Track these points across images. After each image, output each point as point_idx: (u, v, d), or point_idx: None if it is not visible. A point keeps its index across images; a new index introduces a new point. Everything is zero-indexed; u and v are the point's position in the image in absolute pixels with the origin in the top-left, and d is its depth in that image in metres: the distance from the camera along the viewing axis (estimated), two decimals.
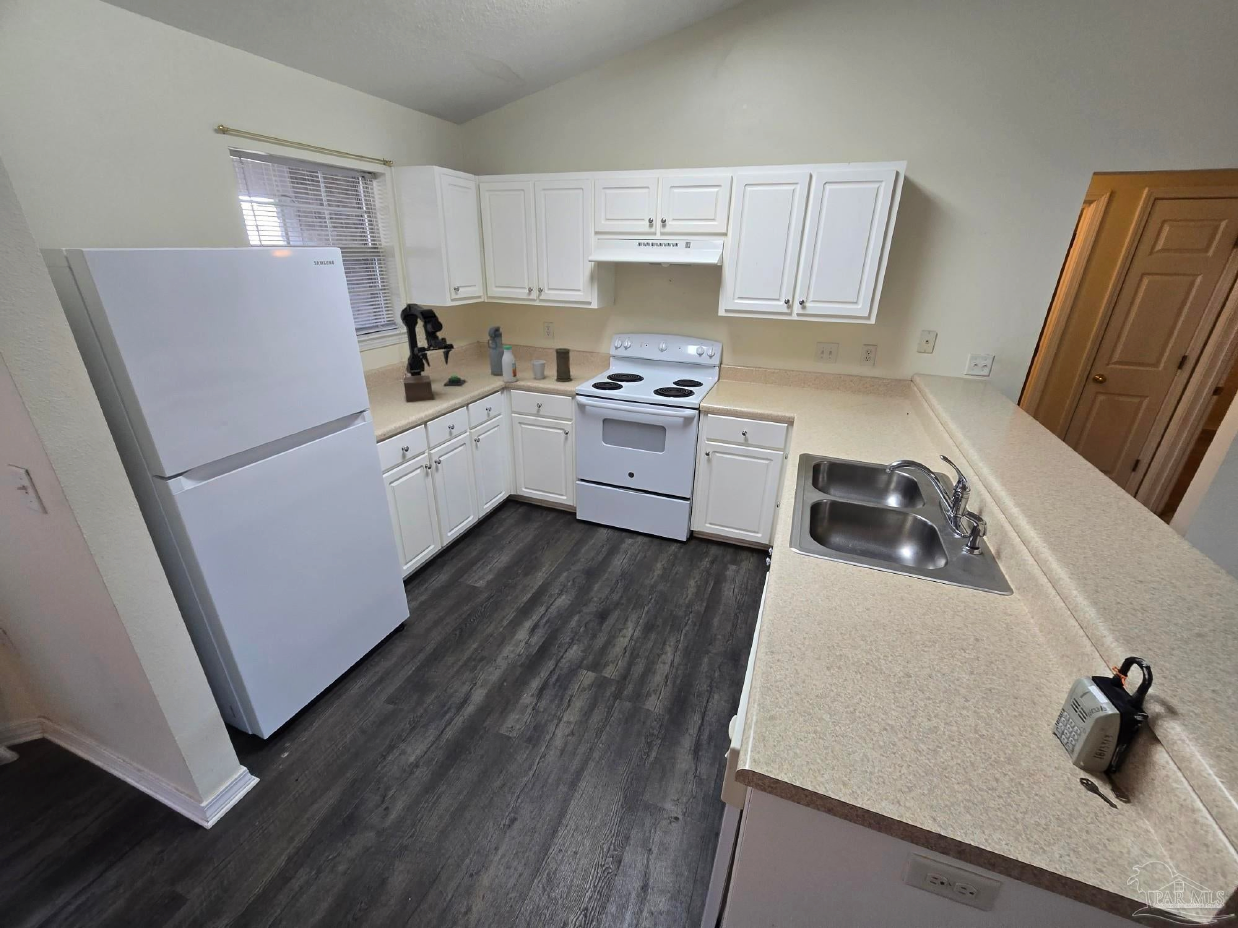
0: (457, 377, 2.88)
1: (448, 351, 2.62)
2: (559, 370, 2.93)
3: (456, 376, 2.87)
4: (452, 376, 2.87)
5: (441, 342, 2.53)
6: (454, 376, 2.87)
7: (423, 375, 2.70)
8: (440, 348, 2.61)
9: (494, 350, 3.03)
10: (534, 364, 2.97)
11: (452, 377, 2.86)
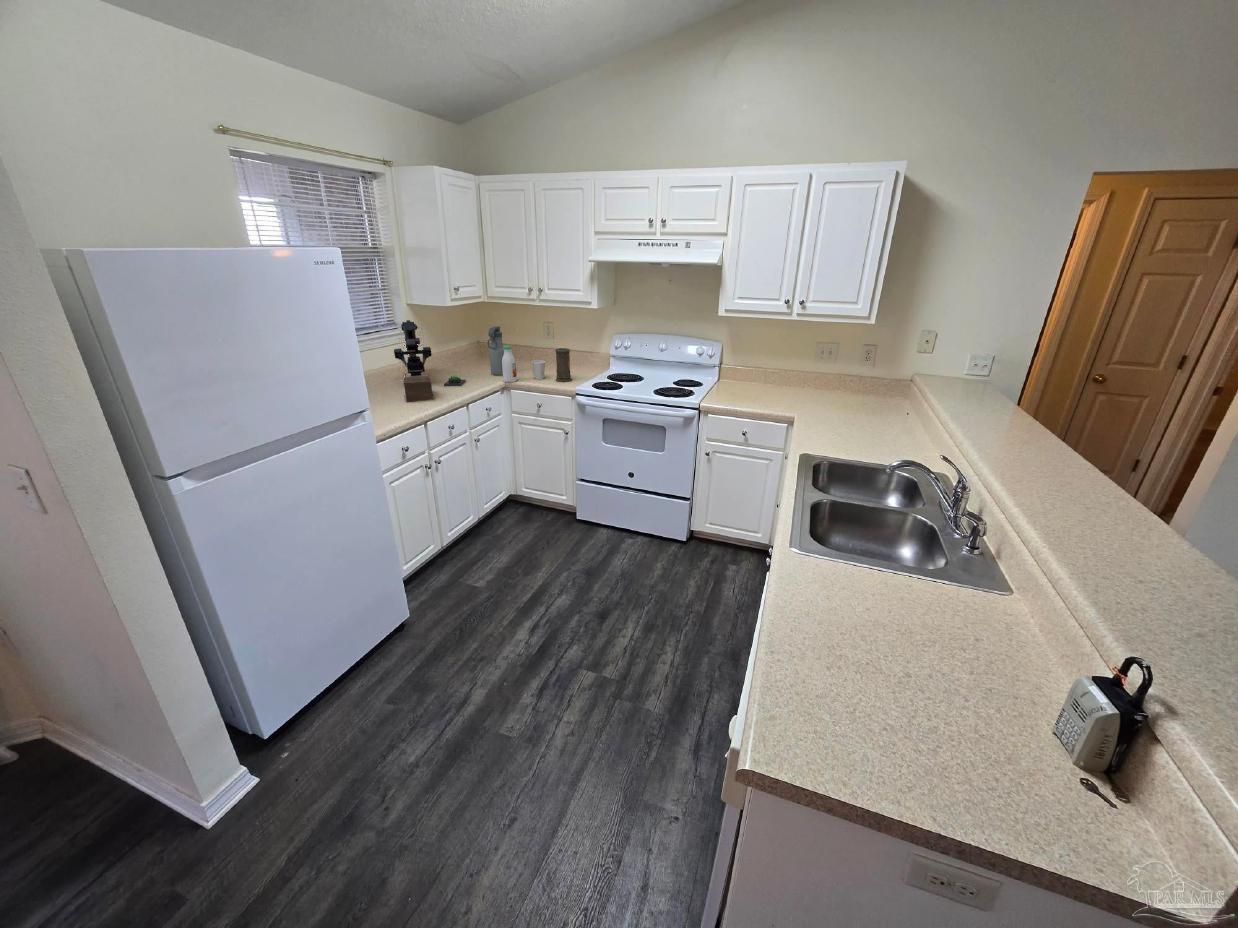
0: (457, 377, 2.88)
1: (424, 352, 2.76)
2: (559, 370, 2.93)
3: (456, 376, 2.87)
4: (452, 376, 2.87)
5: (413, 340, 2.71)
6: (454, 376, 2.87)
7: (423, 375, 2.70)
8: (418, 352, 2.78)
9: (494, 350, 3.03)
10: (534, 364, 2.97)
11: (452, 377, 2.86)
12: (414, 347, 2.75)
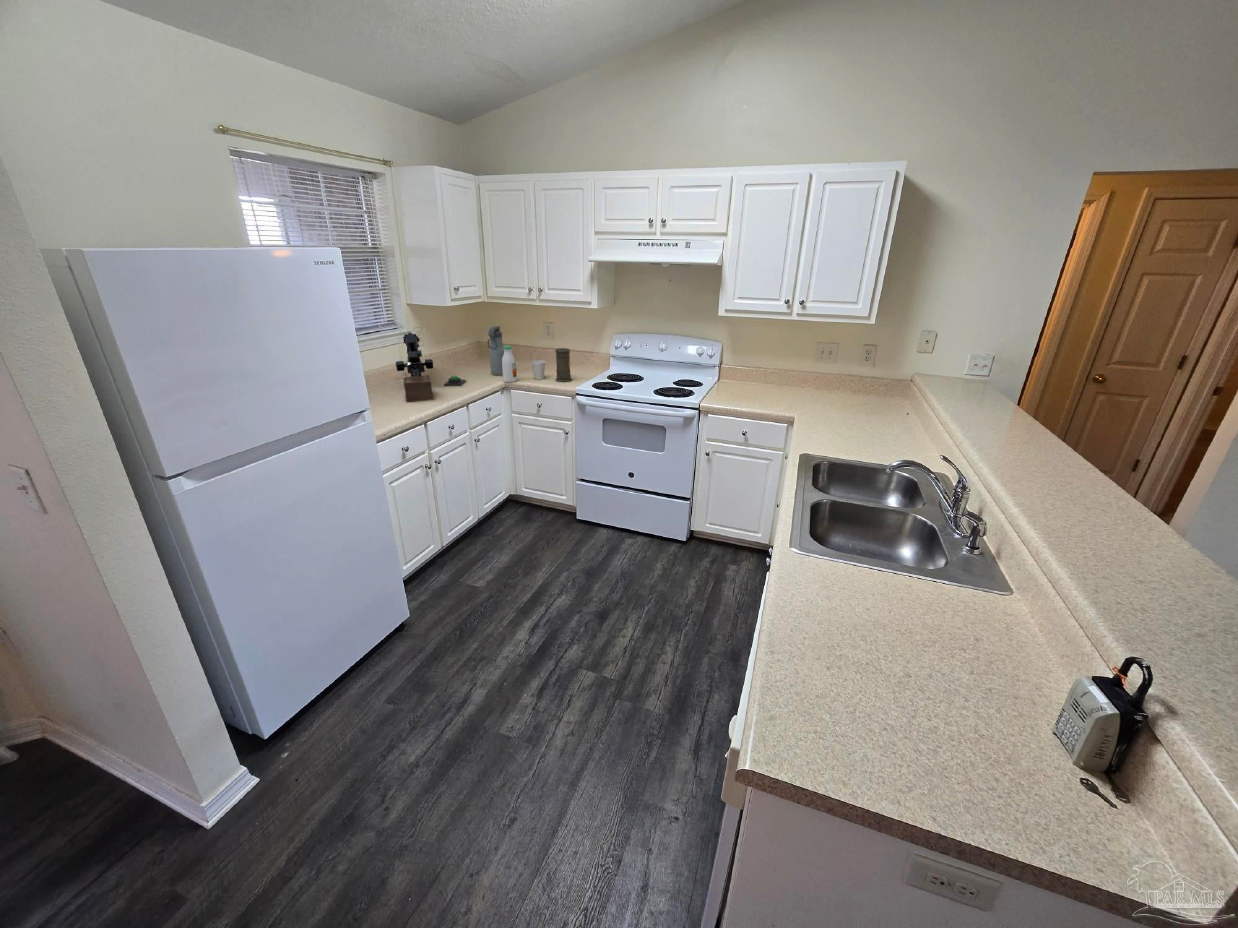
0: (457, 377, 2.88)
1: (418, 365, 2.74)
2: (559, 370, 2.93)
3: (456, 376, 2.87)
4: (452, 376, 2.87)
5: (415, 352, 2.70)
6: (454, 376, 2.87)
7: None
8: (420, 364, 2.77)
9: (494, 350, 3.03)
10: (534, 364, 2.97)
11: (452, 377, 2.86)
12: (416, 359, 2.74)
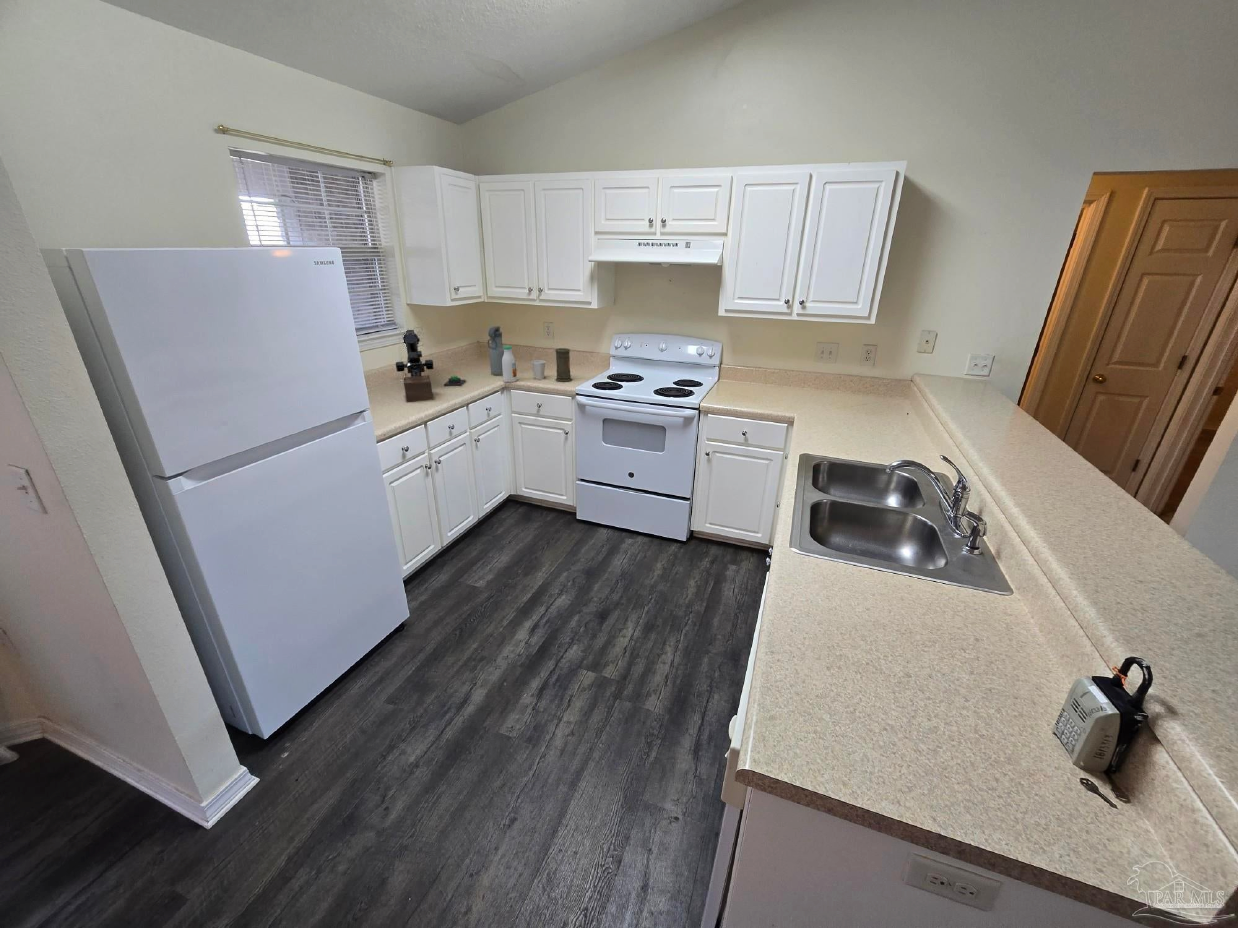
0: (457, 377, 2.88)
1: (418, 366, 2.72)
2: (559, 370, 2.93)
3: (456, 376, 2.87)
4: (452, 376, 2.87)
5: (415, 353, 2.68)
6: (454, 376, 2.87)
7: None
8: None
9: (494, 350, 3.03)
10: (534, 364, 2.97)
11: (452, 377, 2.86)
12: (416, 360, 2.73)
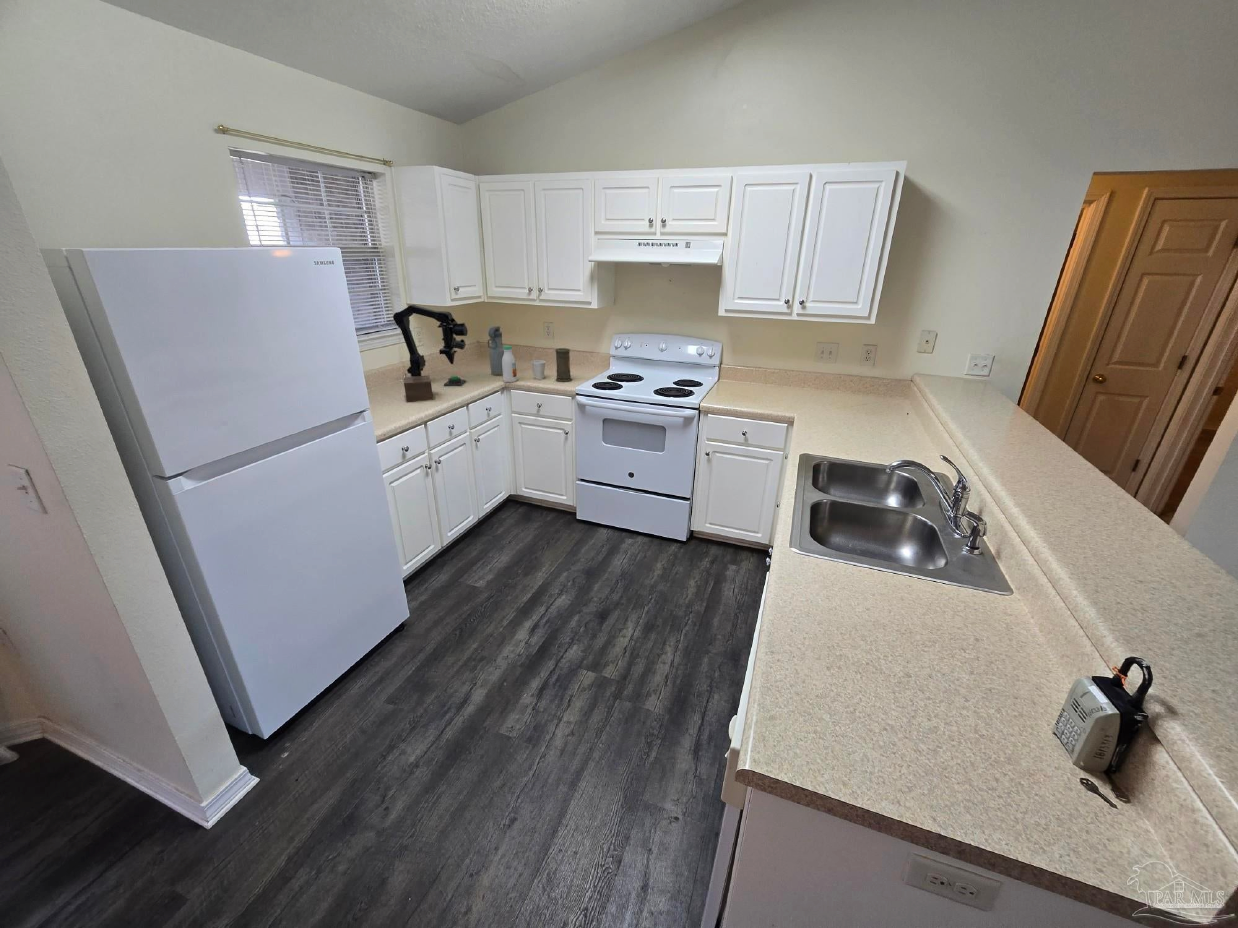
0: (457, 377, 2.88)
1: (455, 352, 2.84)
2: (559, 370, 2.93)
3: (456, 376, 2.87)
4: (452, 376, 2.87)
5: (465, 344, 2.82)
6: (454, 376, 2.87)
7: None
8: None
9: (494, 350, 3.03)
10: (534, 364, 2.97)
11: (452, 377, 2.86)
12: None
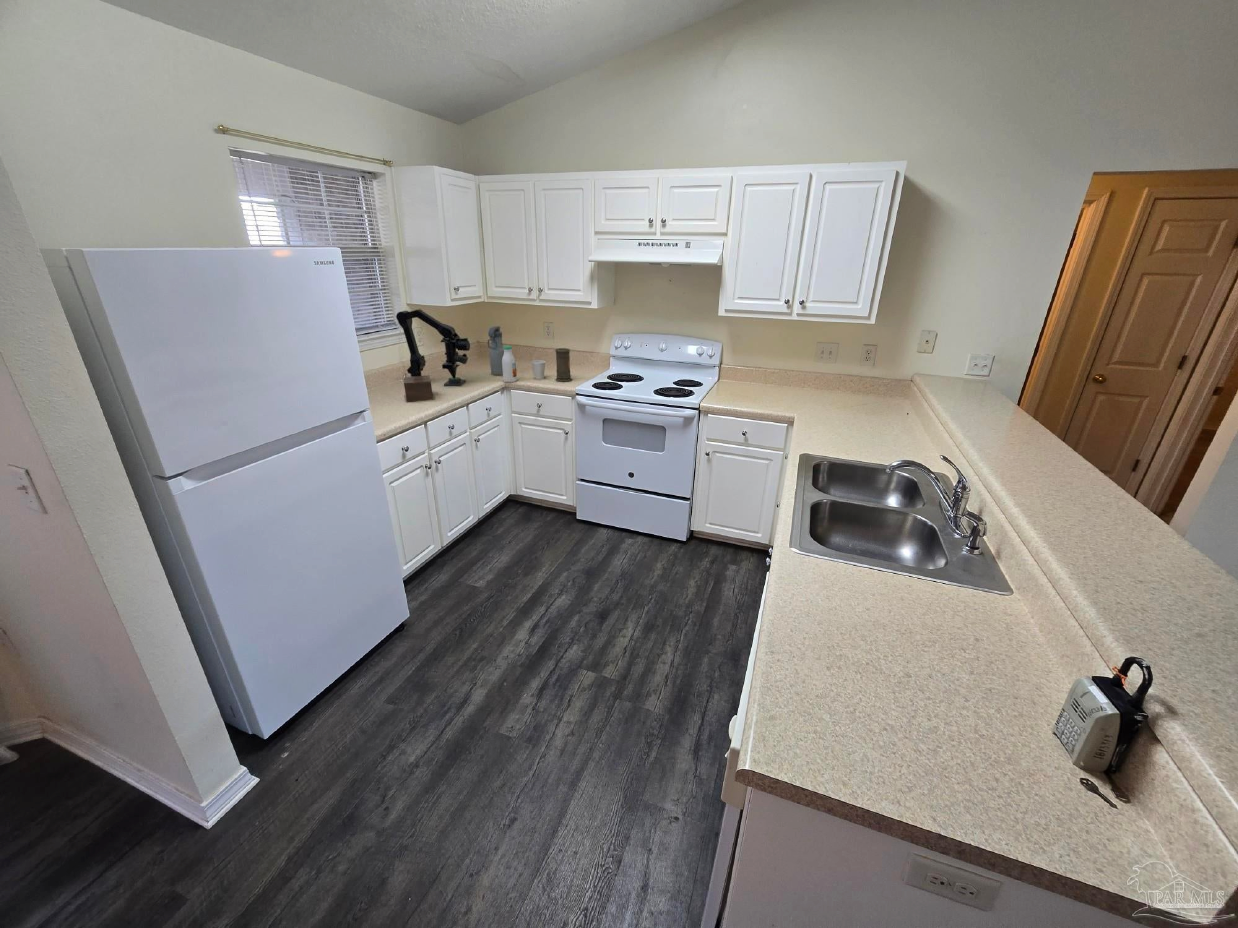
0: None
1: None
2: (559, 370, 2.93)
3: (456, 378, 2.88)
4: (452, 378, 2.88)
5: (467, 358, 2.85)
6: (454, 378, 2.88)
7: None
8: None
9: (494, 350, 3.03)
10: (534, 364, 2.97)
11: None
12: None
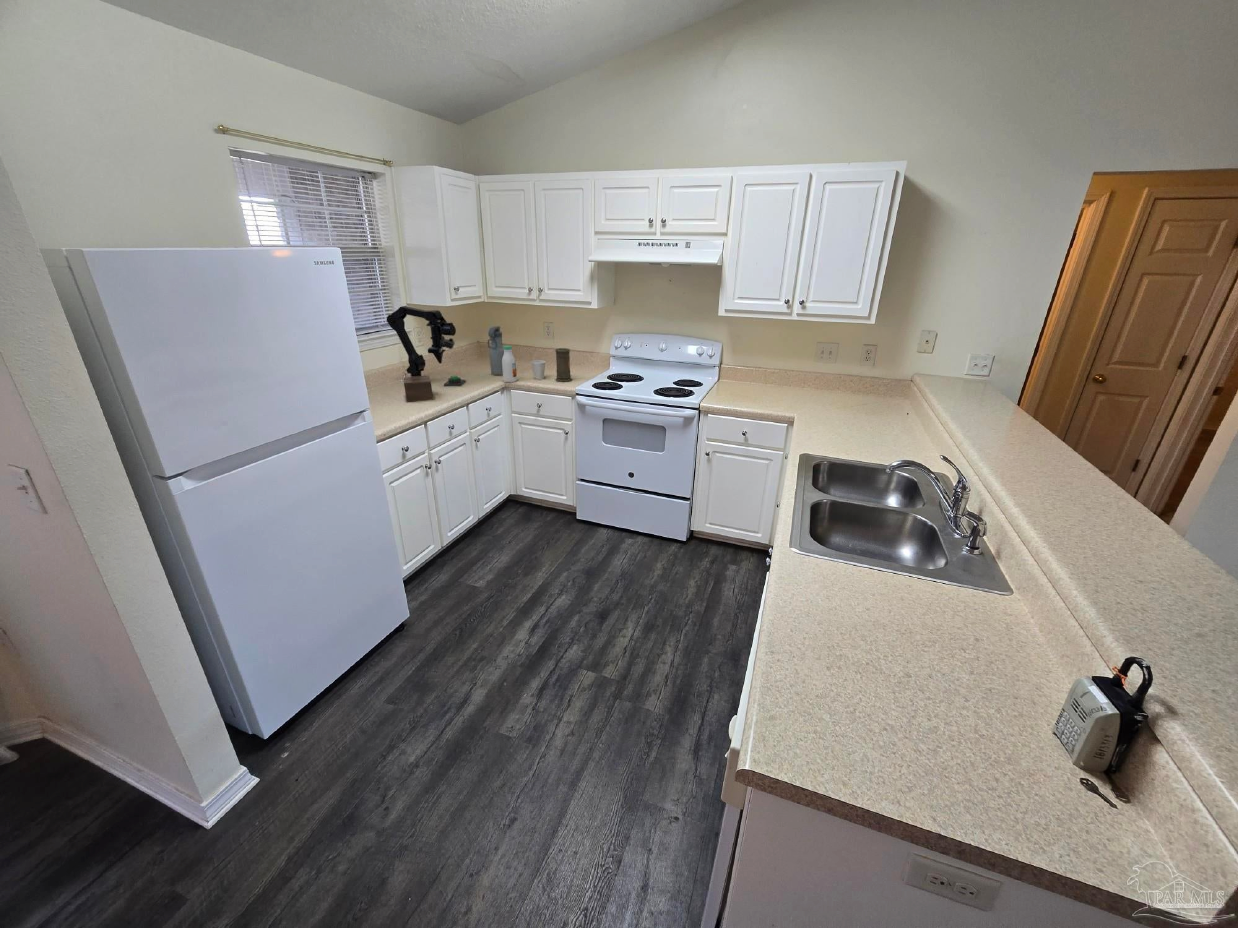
0: (457, 377, 2.88)
1: (444, 351, 2.82)
2: (559, 370, 2.93)
3: (456, 376, 2.87)
4: (452, 376, 2.87)
5: (453, 343, 2.80)
6: (454, 376, 2.87)
7: None
8: None
9: (494, 350, 3.03)
10: (534, 364, 2.97)
11: (452, 377, 2.86)
12: None
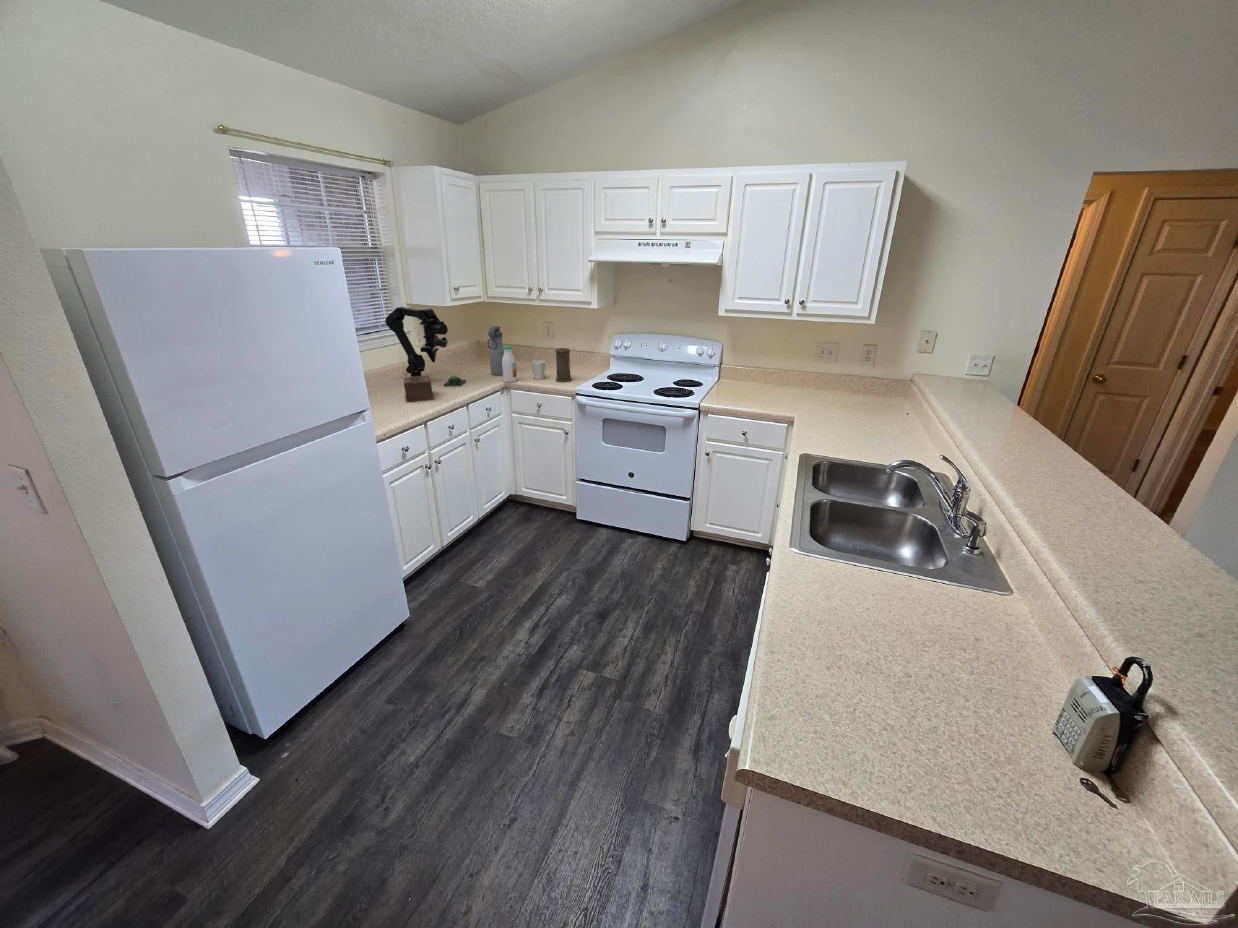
0: (457, 377, 2.88)
1: (437, 350, 2.80)
2: (559, 370, 2.93)
3: (456, 376, 2.87)
4: (452, 376, 2.87)
5: (447, 342, 2.78)
6: (454, 376, 2.87)
7: None
8: None
9: (494, 350, 3.03)
10: (534, 364, 2.97)
11: (452, 377, 2.86)
12: None
